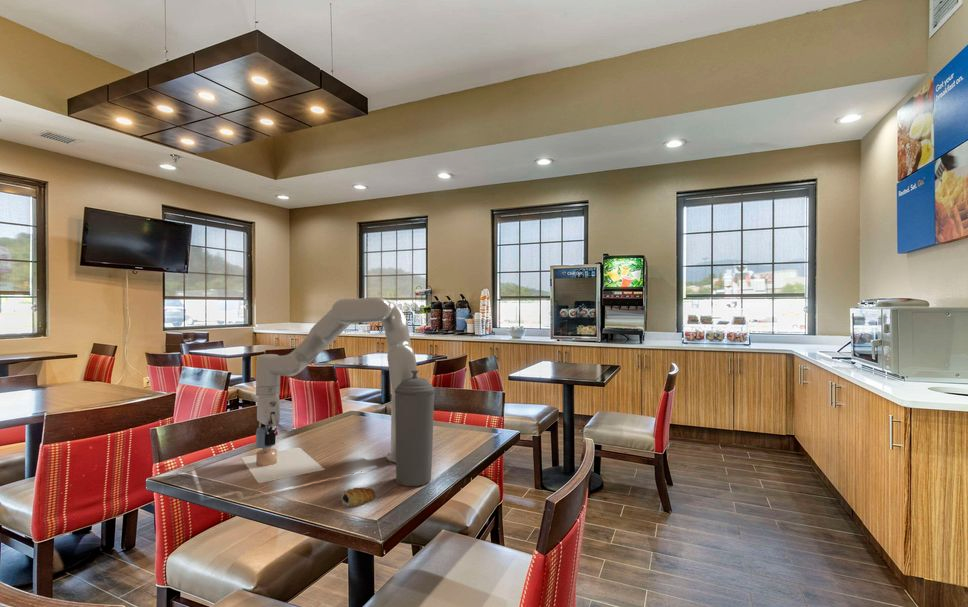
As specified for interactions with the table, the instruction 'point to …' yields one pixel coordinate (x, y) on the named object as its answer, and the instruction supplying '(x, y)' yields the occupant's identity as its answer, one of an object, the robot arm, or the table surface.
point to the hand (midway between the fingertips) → (266, 442)
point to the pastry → (358, 496)
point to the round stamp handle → (266, 457)
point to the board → (283, 465)
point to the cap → (261, 438)
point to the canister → (414, 430)
